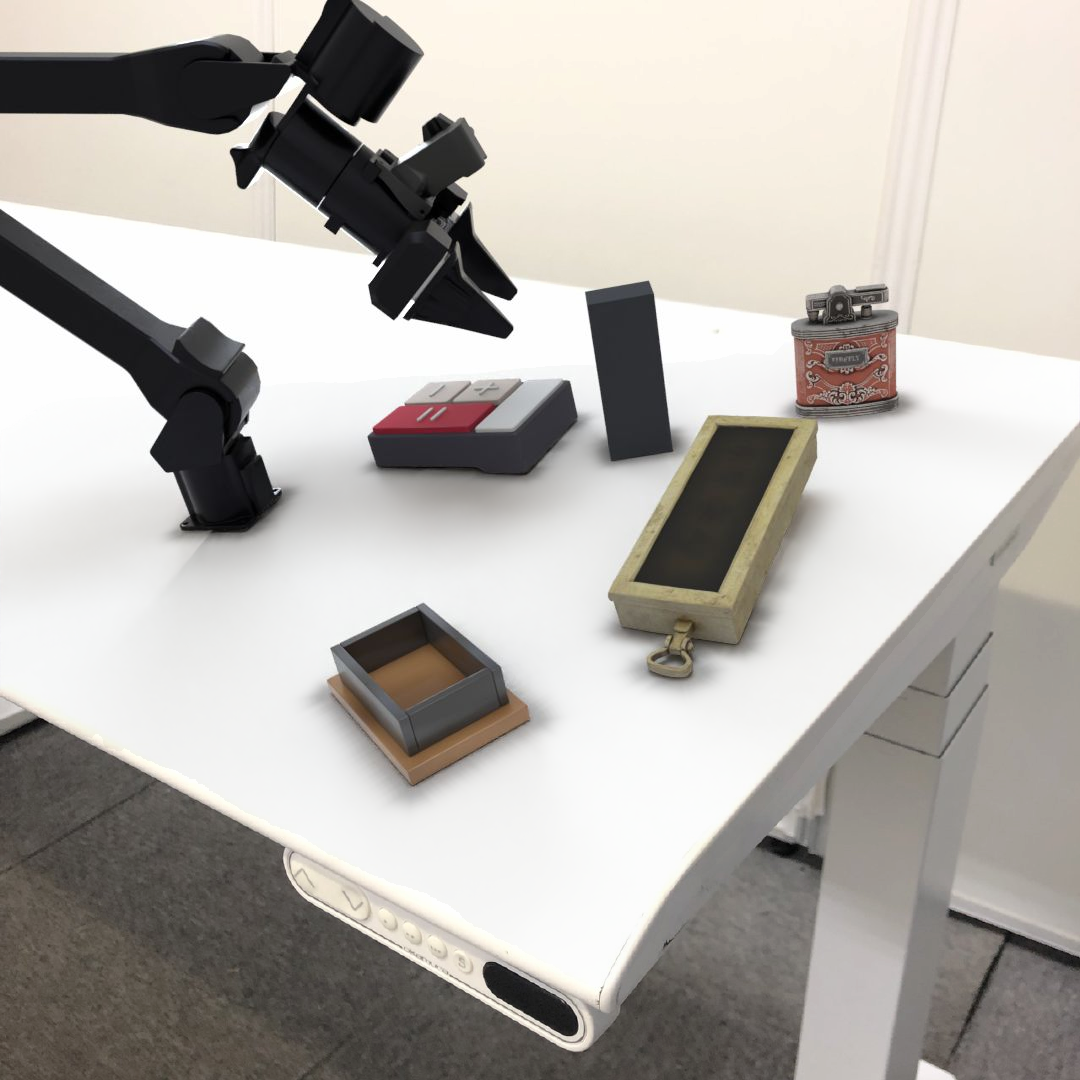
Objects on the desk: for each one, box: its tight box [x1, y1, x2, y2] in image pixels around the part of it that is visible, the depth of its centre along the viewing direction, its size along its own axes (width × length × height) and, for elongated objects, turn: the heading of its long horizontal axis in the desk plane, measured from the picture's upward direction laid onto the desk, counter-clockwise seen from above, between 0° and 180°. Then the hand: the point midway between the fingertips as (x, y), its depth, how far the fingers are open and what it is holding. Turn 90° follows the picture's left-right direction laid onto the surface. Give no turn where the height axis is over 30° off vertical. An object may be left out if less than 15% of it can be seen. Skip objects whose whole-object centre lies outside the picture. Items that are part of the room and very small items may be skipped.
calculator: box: [366, 377, 579, 474], centre depth 90 cm, size 11×4×15 cm
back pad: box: [584, 280, 674, 462], centre depth 81 cm, size 5×4×13 cm
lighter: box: [790, 283, 899, 419], centre depth 82 cm, size 8×3×10 cm, turn 80°
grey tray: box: [326, 602, 531, 786], centre depth 59 cm, size 11×8×4 cm
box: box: [607, 414, 819, 678], centre depth 65 cm, size 8×22×5 cm, turn 154°
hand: (512, 313), depth 78 cm, fingers open, 9 cm apart
